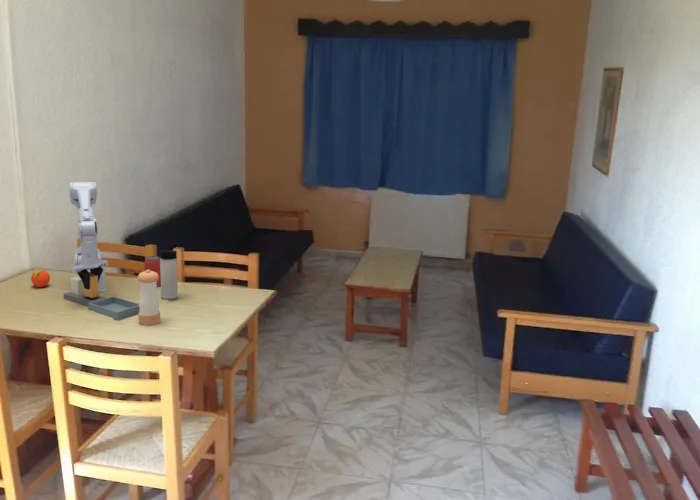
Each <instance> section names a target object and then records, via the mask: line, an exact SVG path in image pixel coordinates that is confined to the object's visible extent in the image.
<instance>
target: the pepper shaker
mask: <svg viewBox="0 0 700 500" xmlns="http://www.w3.org/2000/svg"><path fill="white" fill-rule="evenodd" d="M158 278H159V276H158V274H157V273H156V272H153V271H150V270H146V271H145V270H143V271H142V272H140V273H139V274H138V275H137V281H138V282H139V283H140V284H139V285H140V286H139V289H140V295H139V300H138V301H139V303H138V304H139V310H140V312H139V314H138V324H140V325H142V326H154V325H157V324H158V325H159V324H160V323H161V311H160V301H159V297H158V288H157V282H156V281H158Z"/></svg>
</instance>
